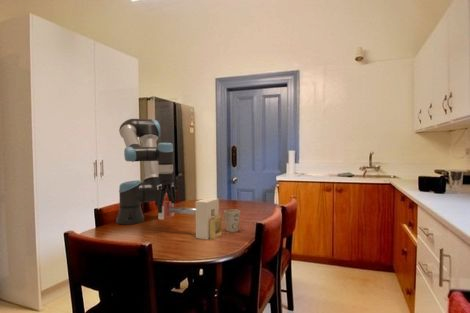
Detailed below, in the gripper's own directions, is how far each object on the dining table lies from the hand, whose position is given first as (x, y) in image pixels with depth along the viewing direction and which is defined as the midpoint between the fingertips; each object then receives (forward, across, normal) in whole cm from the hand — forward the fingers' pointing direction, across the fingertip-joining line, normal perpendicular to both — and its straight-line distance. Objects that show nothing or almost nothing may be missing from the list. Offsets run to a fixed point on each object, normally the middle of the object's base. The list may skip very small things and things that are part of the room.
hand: (166, 217), depth 151 cm
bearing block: (+7, 0, -24) cm, 25 cm away
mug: (+7, +14, -30) cm, 34 cm away
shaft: (0, 0, -11) cm, 11 cm away
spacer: (+7, 0, -28) cm, 29 cm away
